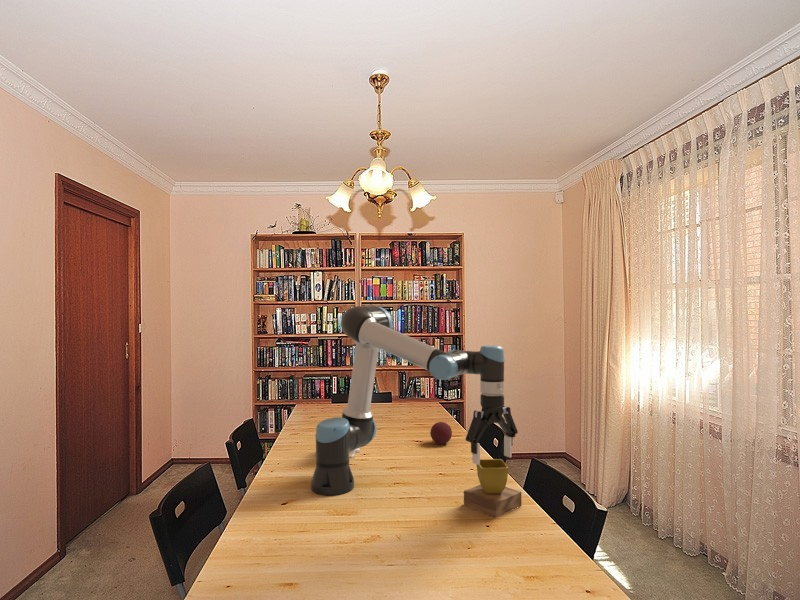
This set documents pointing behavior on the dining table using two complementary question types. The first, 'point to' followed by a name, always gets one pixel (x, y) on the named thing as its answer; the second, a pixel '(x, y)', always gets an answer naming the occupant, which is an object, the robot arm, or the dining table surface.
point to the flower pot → (492, 475)
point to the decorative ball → (441, 432)
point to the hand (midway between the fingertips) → (492, 459)
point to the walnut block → (492, 500)
